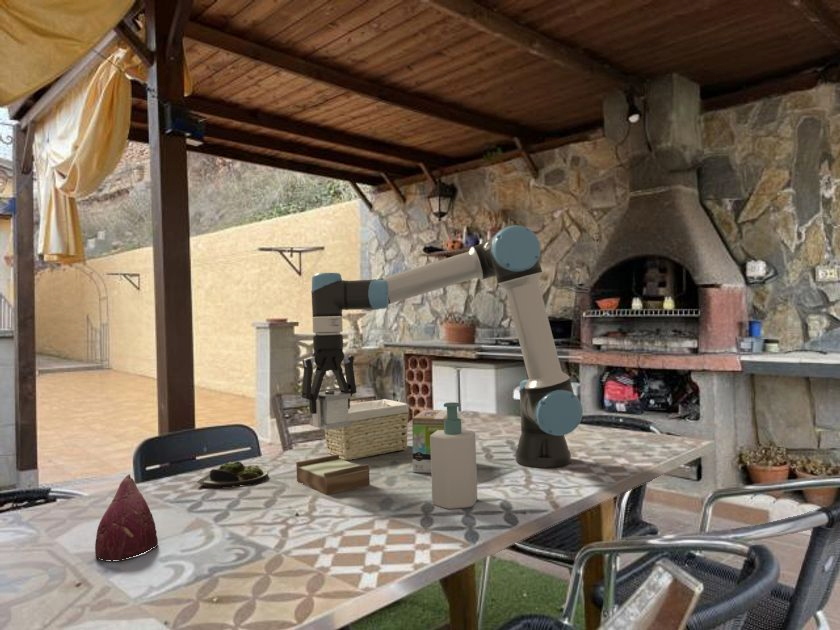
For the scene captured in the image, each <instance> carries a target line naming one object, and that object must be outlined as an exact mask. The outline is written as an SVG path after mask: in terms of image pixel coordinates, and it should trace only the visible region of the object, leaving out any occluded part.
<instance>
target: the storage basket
mask: <svg viewBox="0 0 840 630" xmlns="http://www.w3.org/2000/svg"><path fill="white" fill-rule="evenodd" d="M348 418H349V421H351V426H349V427H343V428H336V429H330V430H325V429H323V430H324V434H325V435H324V437H325V443H326V451H327V453H328V454H330V455H339V459H341V460H344V461H349V460H350V461H352V459H354V460H357V459H362V458H370V457H373V456H377V455H378V454H379V455H384V454H389V453H394V452H396V451H403V450H407V449H408V430H409V429H408V426H409V425H408V424H409V420H408V419H409V404H408V403H407V402H402V401H401V402H400V401H397V400H392V399H386V398H384V399H379V400H369V401H368V400H367V401H361V402H354V403H350V408H349V409H348ZM369 456H370V457H369Z"/></svg>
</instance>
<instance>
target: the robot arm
mask: <svg viewBox="0 0 840 630" xmlns="http://www.w3.org/2000/svg"><path fill="white" fill-rule="evenodd" d="M540 255H541V244H540V241H539V238H538V237H537V235H536V233H534V232H533V230H531V229H529V228H528V227H526V226H523V225H510V226H506V227H504V228H501V229H500V230H498V231H497V232H496V233H495V235H493V236H492V237H491V238H490V239H488V240H485V241H483V242H481V243H479V244H477V245H474V246H470V249H469V251H466V252H464V253H463V252H462V253H460V254H456V255H453V256H450V257H446V258H443V259H440V260H437V261H433V262H431V263H428V264H427V263H426V264H424V265H421V266H416V267H415V268H410V269H407V270H405V271H404V270H403V271H402V272H401V271H400V272H398V273H394V274H391V275H388V276H384V277H381V278H378V279H376V278H375V279H361V280H360V279H357V280H343V278H342V275H341V273H340V272H339V273H338V272H317V273H315V274H313V275H312V278H311V290H310V292H311V307H312V308H311V311H312V313H311V314H312V333H313V334H314V335H313V337H312V343H313V344H312V345H313V354H312V356H311V357H308V358H302V360H301V361H302V365H303V377H302V387H301V390H302V391H301V398H302V399H305V400H308V401H309V413H310V415H312V414H313V426H312V427H314V426H315V428H318V427H321V414H320V401H319V400H317V398H318V394H319V392H321V391H320V390H321V388H322V385H323V382H324V381H323V380H324V377H325V375H326V373H327V372H329V371H331V372H332V374H333V375H334V378H335V381H336V382H337V384H338V387H339V392H344V393H350V394H351V397H352V396H353V394H357V385H356V379H355V378H356V377H355V371H354V360H355V357H354V355H346V354H345V353H344V351H343V349H344V335H343V334H341V333H342V332H343V311H344V310H345V311H350V310H351V311H353V310H355V311H356V310H359V311H360V310H363V311H368V312H370V311H373V310H376V311H378V310H382V309H383V310H384V309H387V308H388V307H389V306H390V304H394V303H397V302H401V301H404V300H407V299H410V298H413V297H418V296H420V295H424V294H427V293H430V292H433V291H437V290H440V289H443V288H447V287H450V286H454V285H456V284H459V283H464V282H467V281H470V280H474V279H476V278H477V279H478V280H481V281H482V280H486V279H489V278H494V277H495V278H496V282H497V284H498V286H500V287H502V288H503V289H504V290H505V291H506V296H507V300H508V304H509V308H510V311H511V315H512V320H513V323H514V327H515V330H516V335H517V339H518V342H519V343H518V344H519V346H520V350H521V355H522V358H523V362H524V365H525V369H526V373H527V377H528V379H523V380H521V381H520V383H519V390H518V393H519V404H520V405H519V406H520V407H519V408H520V409H519V410H520V428H521V429H520V438H519V440H518V445H517V449H516V451H515V462H516V463H518V464H520V465H522V466H526V467H533V468H557V467H563V466H568V465H569V464H571V462H572V455H571V452H570V450H569V446H568V444H567V443H568V442H567V440H566V437H565V435H568V434H570V433H572V432H573V431H575V430H576V429H577V427H578V426H579V425H580V424H581V421H582V418H583V412H584V411H583V406H582V402H581V400H580V398H579V397H578V396H577V395H576V394H575V393H574V390H573V389H574V388H573V386H572V382H571V378H570V375H568V374H567V373H565V372H564V371H562V368H561V363H560V359H559V356H558V353H557V351H558V350H557V347H556V344H555V340H554V336H553V333H552V329H551V328H552V327H551V325H550V321H549V320H550V319H549V317H548V313H547V310H546V309H547V308H546V306H545V301H544V298H543V293H542V288H541V286H540V283H539V281H540V279H541V277H542V276H543V270H542V265H541V262H540ZM314 363H315V365H316V367H315V371H314V369H313V366H314ZM342 363H343V364H344V371H343V368H342ZM313 371H314V373H313ZM313 374H314V378H313ZM344 374H345V375H344ZM350 399H351V398H349V399H348V409H349V408H350V404H351V401H350Z"/></svg>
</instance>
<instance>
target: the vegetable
mask: <svg viewBox="0 0 840 630" xmlns="http://www.w3.org/2000/svg"><path fill="white" fill-rule="evenodd" d="M119 483H120V484H119V486H118V488H117V491H116V492H115V495H114V497H113V499H112V501H111V502H110V504H109V506H108V507H107V509H106V510H105V512H104V514H103V515H102V518H101V520H100V521H99V524H98V526H97V529H96V536H95V537H96V538H95V544H94V550H95V551H94V552H95V557H96V556H97V557H98V558H100V559H103V560H111V561H113V560H122V559H126V558H129V557H133V556H136V555H139V554H141V553H144V552H146V551H148V550H150V549H151V548H153V547H155V546H156V545H157V544H158V545H159V543H158V536H157V529H156V522H155V519H154V517H153V513H152V512H151V508H150V507H149V505H148V503H147V501H146V500H145V498H144V496H143V495H142V493H141V492H140V490H139V488H138V487H137V484H136V482H135V481H134V479H133V478H132V477H131V474H129V473H128V474H127V475H126V476H125V477H124V478H123V479H122V480H121V482H119ZM158 545H157V546H158ZM97 557H96V558H97Z"/></svg>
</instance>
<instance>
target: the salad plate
mask: <svg viewBox="0 0 840 630" xmlns="http://www.w3.org/2000/svg"><path fill="white" fill-rule="evenodd" d="M268 475H269V474H268V471H267V470H266V468H265V467H264V466H263V465H258V464H257V465H253V464H252V465H244V464H243V463H242V461H239V460H236V461H234V462H233V463H232V461H228V463H226V462H225V463H224V464H221V465H220V467H218V468H217V469H214V468H213V469H211V470H210V471H206V472H204V473H203V474H202V476H201V478H200V479H199V480H197V481H196V483H197V484H198V485H202V486H205V487H206V488H209V487H211V488H210V489H224V488H223V487H228V488H233V487H232V486H237V487H241V486H240V485H245V486H249V485H248V484H251V485H255V484H254V483H256V484H258V482H259V483H261V481H262V482H263V481H265V480H266V479H267V478H268Z"/></svg>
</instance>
